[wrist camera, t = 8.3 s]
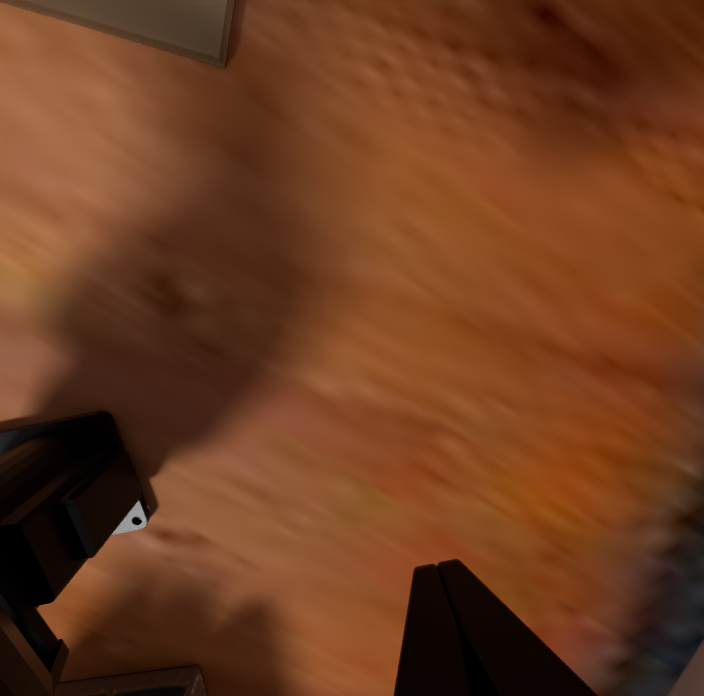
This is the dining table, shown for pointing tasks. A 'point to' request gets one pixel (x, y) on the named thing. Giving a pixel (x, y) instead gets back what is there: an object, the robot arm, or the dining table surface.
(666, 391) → the dining table surface
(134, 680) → the letter holder
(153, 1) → the tan base plate
